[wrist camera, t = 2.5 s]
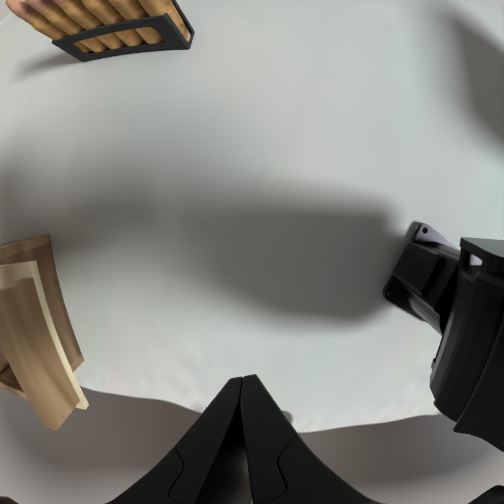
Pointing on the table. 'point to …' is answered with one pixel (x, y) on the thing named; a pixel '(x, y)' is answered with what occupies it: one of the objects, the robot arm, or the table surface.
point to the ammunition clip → (107, 25)
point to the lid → (36, 345)
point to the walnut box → (42, 253)
